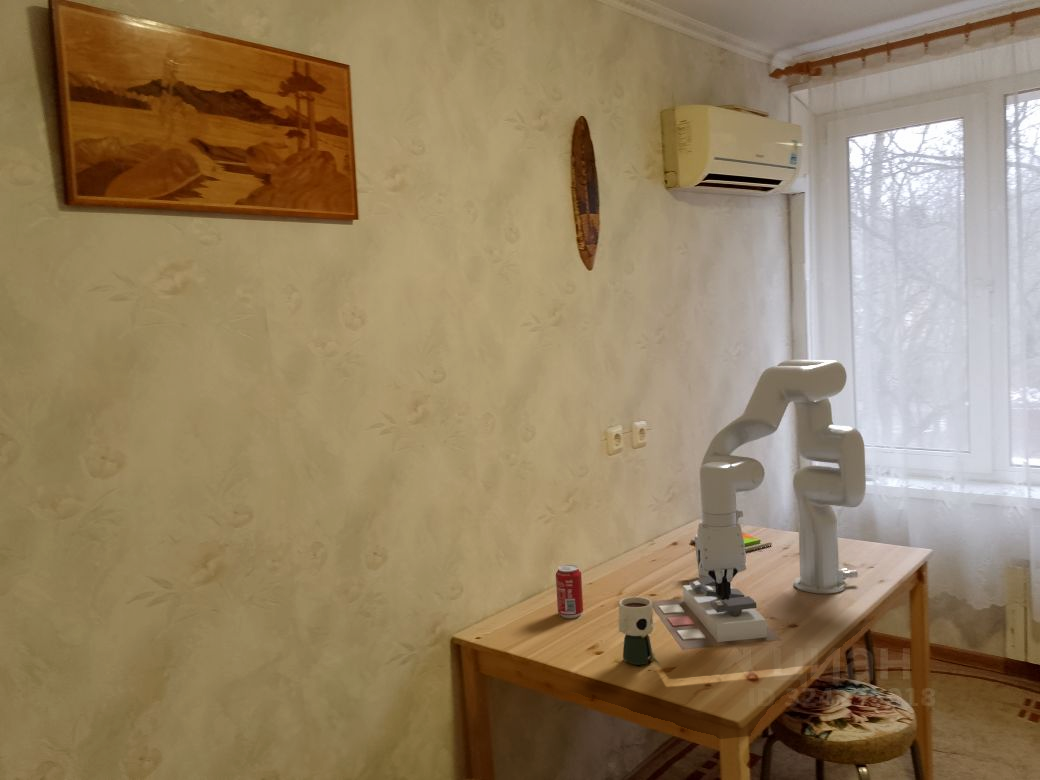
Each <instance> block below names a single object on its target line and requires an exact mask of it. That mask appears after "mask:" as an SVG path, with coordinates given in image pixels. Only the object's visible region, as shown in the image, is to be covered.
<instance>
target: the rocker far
mask: <svg viewBox="0 0 1040 780" xmlns="http://www.w3.org/2000/svg"><path fill="white" fill-rule="evenodd" d="M720 573H721V578H723V571H722V572H720ZM689 585H690V587H691V588H692V589H693V590H694V591H695V592H699V591H701V585H708V586H715V580H714V579H713V578H712V577H710V576H707V577H704V578H700V579H699V578H697V579H694V580H691V581H689Z"/></svg>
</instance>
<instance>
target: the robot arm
mask: <svg viewBox="0 0 1040 780" xmlns="http://www.w3.org/2000/svg"><path fill="white" fill-rule="evenodd" d="M847 377H848V376H847V372H846V369H845V367H844V365H843V364H842V363H841V362H839V360H834V359H833V360H832V359H791V360H790V359H788V360H784V361H781V362H779V363H778V364H777V365H773V366H771V367H768V368H767V367H766V369H764V370H763V372H762V373H761V375H760V377H759V378H758V381H757V383H756V385H755V387H754V389H753V391H752V394H751V396H750V398H749V400H748V402H747V405H746V407H745V409H744V411H743V413H742V414H741V415H740V416H739V417H737V418H735V419H734V420H733V421H731V422H730V423H728V424H727V425H725V427H723V428H722V429H721V430H719V431H718V432H717V433H716V435H715V436H714V437H713V438H712V440H711V441H710V443H709V445H708V448H707V450H706V451H705V453H704V456H703V458H702V461H701V465H700V468H699V484H700V485H699V486H700V501H701V502H700V503H701V504H700V505H701V520H702V522H701V523H699V524H698V527H697V533H696V534H697V555H696V564H697V563H698V564H699V568H698V567H697V573H698V575H699V574H700V575H704V576H710V577H712V578H713V579H714V580H715V588H716V595H717V596H718V597H719V598H720V599H721V600H725V599H726V600H729V594H731V587H732V586H731V582H733V579H734V577H735V576H736V575H737V574H739V573H742V572H744V571H746V570H747V566H746V562H747V556H746V555H747V553H746V552H745V546H744V539H743V534H742V532H743V530H742V527H741V523H740V522H739V518H742V517H744V512H743V510H738V509H737V497H736V496H737V495H736V494H737V493H741V492H750V491H753V490H755V489H757V488H758V487H760V486H761V485H762V483H763V481H764V478H765V473H766V472H765V469H764V466H763V464H762V462H760V460H757V459H755V458H753V457H748V456H740V455H731V454H732V453H733V452H734V451H735V450H737V449H738V448H740V447H741V446H743V445H746V444H747V443H750V442H753V441H756V440H759V439H763V438H766V437H768V436H771V435H773V434H774V433H775V432H776V431H777V430H778V429H779V426H780V424H781V422H782V419H783V417H784V416H785V412H786V410H787V409H788V406H789V404H791V402H793V405H794V407H795V414H796V429H797V430H796V431H797V432H796V435H797V448H798V453H799V455H800V456H801V458H803V459H805V460H807V461H811V462H812V461H813V462H819V463H826V464H828V463H829V464H836V465H838V467H833V466H826V465H825V466H824V465H814V464H813V465H812V464H811V465H805V466H802V467H800V468H799V469H797V470H796V471H795V473H794V475H793V478H792V479H793V481H792V485H793V492H794V496H795V501H796V505H797V515H798V519H797V520H798V551H799V552H798V553H799V556H798V557H799V575H798V576H797V577H795V578H794V580H793V585H794V587H795V588H797V589H798V590H801V591H803V592H807V593H813V594H835V593H840V592H843V591H844V590H845V589H846V587H847V585H846V582H845V580H846V579H853V578H858V576H859V574H858V571H857V570H856V569H850V570H849V569H848V568H840V566H839V565H840V564H839V563H840V561H839V558H840V557H839V528H838V527H839V523H838V517H837V514H836V513H835V510H834V508H833V507H832V506H835V507H841V508H857V507H859V506H861V504H863V501H864V499H865V496H866V489H867V486H866V478H867V477H866V455H865V454H866V451H865V441H864V438H863V436H862V434H861V432H860V431H859V430H858V429H857V428H855V427H854V426H848V425H836V424H834V423H833V415H832V413H833V412H832V404H831V401H830V398H832V397H835V396H838V395H839V394H840V392H842V390H844V388H845V386H846V383H847V379H848V378H847ZM698 564H697V565H698ZM723 569H724V571H723V578H721V573H720V570H723Z"/></svg>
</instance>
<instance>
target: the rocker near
mask: <svg viewBox="0 0 1040 780" xmlns="http://www.w3.org/2000/svg"><path fill="white" fill-rule="evenodd" d="M711 606H712V608H713V609H714V610H715V611H716V612H717V613H719V612H727V611H729V612H730V613H731V614H732V615H733V616H735V617H737V616H740V615H741V613H742V610H744V609H753V608H754V609H757V607H758V606H757V602H756V601H755V600H754V599H753V598H752V597H750V595H747V596H746V595H745V596H744V597H737V598H729V600H726V599H725V600H721V599H720V600H712V601H711Z"/></svg>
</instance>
